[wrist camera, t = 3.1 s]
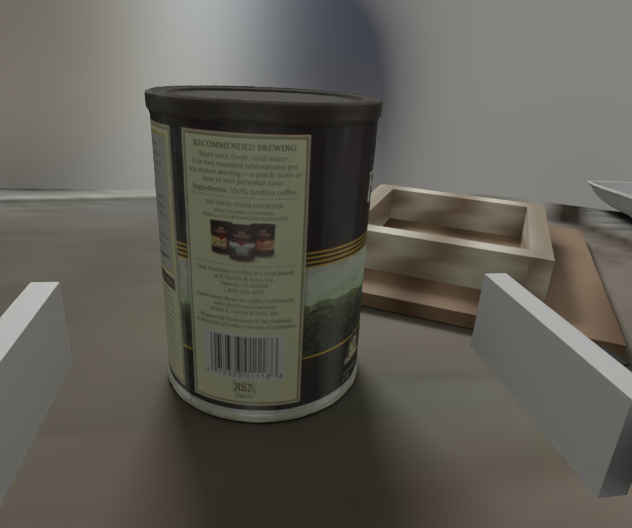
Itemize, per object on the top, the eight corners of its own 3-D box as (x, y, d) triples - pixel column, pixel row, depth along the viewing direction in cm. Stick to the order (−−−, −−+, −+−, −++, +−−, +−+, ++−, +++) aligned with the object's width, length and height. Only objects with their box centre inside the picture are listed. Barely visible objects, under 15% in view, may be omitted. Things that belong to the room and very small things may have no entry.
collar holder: (256, 283, 37) (256, 231, 35) (351, 205, 58) (354, 171, 56) (621, 360, 29) (641, 299, 28) (578, 239, 50) (588, 201, 49)
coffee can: (317, 308, 34) (330, 87, 28) (390, 401, 25) (429, 105, 19) (158, 328, 30) (139, 80, 25) (176, 445, 21) (152, 98, 16)
